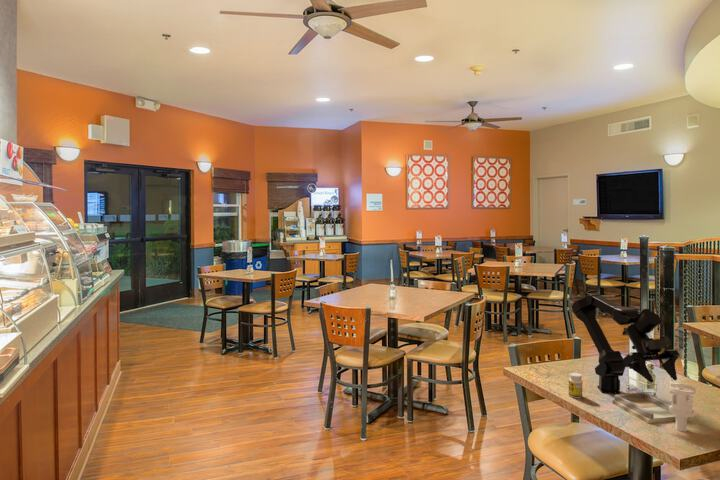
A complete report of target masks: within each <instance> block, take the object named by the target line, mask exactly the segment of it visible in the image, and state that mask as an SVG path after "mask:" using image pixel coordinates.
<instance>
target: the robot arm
mask: <svg viewBox="0 0 720 480" xmlns="http://www.w3.org/2000/svg"><path fill="white" fill-rule="evenodd" d="M597 309H599V310H601V311H603V312H605V313H606V314H608V315H609V316H611V319H612V320H613V321H614V322H615V323H616V324H617V325H620V326H627V327H623V331H622V336H628V338H629V340H630V341H631V343H632V346H631V349H633V350H636V351H633V352H629V353H628V354H626V355H625V356H624V358H623V355H622V353H621V352H620V350H614V349H613V348H612V347H611V345H610V342H609V340H608V338H607V337H606V335H605V332H604V331H603V329H602V328H601V325H600V324H599V321H598V320H597V318H596V317H597ZM571 310H572V313H573V314H574V315H575V317H576V318H577V319H578V320H580V321H581V322H582V323H584V326H585V328H586V330H587V332H588V334H589V336H590V338H591V341H592V342H593V344H594V347H595V348H596V350H597V352H598V364H597V366H595V368H594V371H595V374H596V375H598V376H599V377H598V385H597V388H598V390H599V391H600V392H601V393H602V394H604V393H605V394H616V395H620V394H621V392H620V390H621V380H620V377H623V375H624V373H625V369H626V368H629V369H630V370H633V371H634V372H636V373H637V374H639V375H641V377H642V378H644V379H645V380H646V381H648V382H649V383H651V384H652V383H654V379H653V376H652V374H651V373H650V371H649V369H648V367H647V365H646V363H647V362H650V361H652V362H653V361H659V363H660V364H661V367H662V368H663V370H664V371H665V372H666V373H667V374H668V375H669V376H670V378H671V379H672V380H674V381H677V380H678V376H677V372H676V371H677V370H676V369H677V368H676V361H677V360H678V359H679V358H680V357H681V355H680V353H679V351H678V350H677V349H674V348H673V349H669V348H670V347H669V346H671V345H672V341H671V339H670V338H669V337H668V336H667V335H665V336H664V335H663V336H660V337H659V338H656V339H654V338H653V337H649V335H648V334H650V333H651V332H652V331H654V330H655V329H656V328H657V327H658V326H660V324H661V323H662V321H661V320H662V318H661V317H660V316H659V315H658V314H657V313H655V312H654V311H651V310H650V309H649V308H643V309H642V310H641V312H639V311H638V310H637V309H635V308H633V307H632V308H631V307H630V306H629V307H628V306H623V305H622V306H621V305H619V304H617V303H616V302H613V301H612V300H610V299H607V298H606V297H604V296H602V294H598V293H593V294H591V293H590V294H588V295H586V296H585V297H583V298H580V299H578V300H575V301H574V302H573V303H572V305H571ZM662 349H665V350H664V351H663V352H662ZM660 352H661V353H660Z"/></svg>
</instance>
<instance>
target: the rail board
mask: <svg viewBox="0 0 720 480" xmlns="http://www.w3.org/2000/svg"><path fill="white" fill-rule="evenodd" d="M611 401H612V402H611V403H612V404H613V405H615V406H616V407H618V408H620V409H623V411H625V412H627V413H629V414H631V415H632V416H634V417H635V418H637V419H640V420H642V421H644V422H645V423H647V424H653V423H654V424H655V423H662V422H671V421H676V415H674V414H672V413H670V412H669V406H670V405H671V404H669V403H667V402H665V401H663V400H661V399H659V398H657V397H654V396H653V395H651V394H648V393H646V392H645V391H644V392H643V391H642V392H632V393H620V394H614V397H613V399H612V400H611Z"/></svg>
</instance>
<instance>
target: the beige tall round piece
mask: <svg viewBox="0 0 720 480" xmlns="http://www.w3.org/2000/svg"><path fill="white" fill-rule="evenodd" d="M676 387H677V388H676ZM684 389H686V390H684ZM669 394H670V395H671V404H669V405H670V406H669V412H670V413H672V414H674V415H676V420H675V429H676V431H679V432H687V429H688V428H687V427H688V418H694V417H695V416H696V410H695V409H694V408H693V406H694V405H693V402H694V398H693V396H694V395H696V394H697V389H696V387H693V386H692V385H689V384H684V383H680V382H673V381H670V382H669Z"/></svg>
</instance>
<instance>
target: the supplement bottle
mask: <svg viewBox="0 0 720 480" xmlns="http://www.w3.org/2000/svg"><path fill="white" fill-rule="evenodd" d="M582 377H583V376H582V374H580V373H577V372H571V373H570V374H569V378H568V396H569V397H570V396H571V398H573V397H574V398H573V399H580V398H583V379H582Z"/></svg>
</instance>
